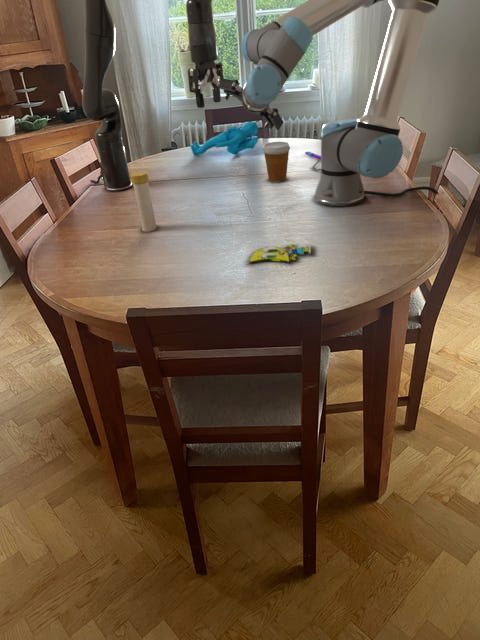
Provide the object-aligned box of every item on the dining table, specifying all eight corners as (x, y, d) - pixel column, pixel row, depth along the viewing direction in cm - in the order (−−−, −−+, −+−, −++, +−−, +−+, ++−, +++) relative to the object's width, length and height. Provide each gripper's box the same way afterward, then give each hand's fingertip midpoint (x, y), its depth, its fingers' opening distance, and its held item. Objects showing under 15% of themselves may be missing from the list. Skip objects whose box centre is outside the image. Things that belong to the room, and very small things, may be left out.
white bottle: (151, 232, 139) (140, 177, 131) (139, 231, 141) (128, 176, 132) (159, 227, 143) (149, 173, 134) (147, 225, 144) (137, 172, 136)
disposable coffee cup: (260, 182, 170) (258, 147, 164) (269, 174, 177) (267, 141, 171) (286, 183, 167) (285, 148, 160) (294, 175, 174) (293, 141, 168)
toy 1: (196, 135, 216) (258, 115, 205) (204, 158, 221) (266, 140, 210) (185, 145, 202) (251, 124, 192) (194, 169, 207) (259, 150, 197)
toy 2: (311, 260, 114) (248, 260, 116) (311, 263, 115) (248, 263, 117) (311, 242, 123) (252, 243, 125) (311, 245, 123) (253, 246, 125)
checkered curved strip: (342, 175, 173) (362, 153, 185) (341, 169, 172) (361, 148, 184) (283, 174, 186) (305, 153, 198) (282, 169, 184) (305, 148, 196)
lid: (142, 184, 131) (140, 176, 130) (127, 183, 133) (126, 175, 132) (152, 178, 135) (151, 171, 134) (138, 177, 137) (136, 170, 136)
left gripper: (206, 40, 140) (212, 100, 149) (176, 45, 130) (184, 109, 139) (227, 39, 137) (232, 100, 146) (198, 44, 127) (205, 109, 136)
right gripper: (206, 78, 118) (205, 95, 138) (289, 138, 123) (276, 145, 144) (222, 50, 117) (219, 71, 137) (305, 111, 122) (290, 123, 142)
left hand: (209, 104), depth 142 cm, fingers open, 8 cm apart
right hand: (248, 109), depth 140 cm, fingers open, 13 cm apart
